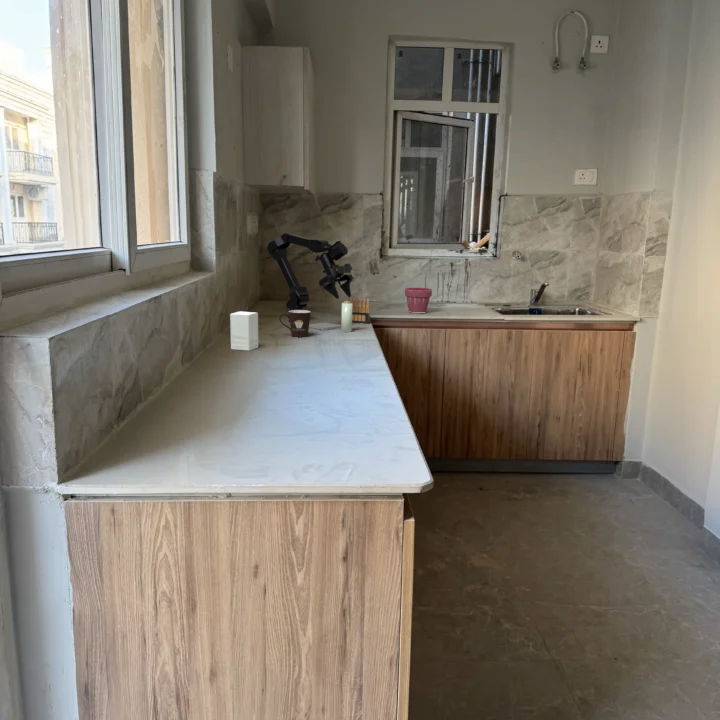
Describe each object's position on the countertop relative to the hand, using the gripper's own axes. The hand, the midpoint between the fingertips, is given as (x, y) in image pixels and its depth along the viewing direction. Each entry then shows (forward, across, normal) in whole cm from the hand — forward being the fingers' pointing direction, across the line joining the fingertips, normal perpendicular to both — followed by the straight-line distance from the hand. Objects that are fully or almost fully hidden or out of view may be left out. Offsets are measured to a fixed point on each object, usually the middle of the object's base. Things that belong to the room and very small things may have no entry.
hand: (344, 297), depth 267 cm
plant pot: (+12, +70, +7) cm, 71 cm away
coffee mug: (+10, -31, +8) cm, 34 cm away
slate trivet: (+8, -6, +12) cm, 16 cm away
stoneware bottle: (+15, -8, +1) cm, 17 cm away
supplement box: (+12, -64, +6) cm, 65 cm away
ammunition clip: (+10, +16, +9) cm, 21 cm away
